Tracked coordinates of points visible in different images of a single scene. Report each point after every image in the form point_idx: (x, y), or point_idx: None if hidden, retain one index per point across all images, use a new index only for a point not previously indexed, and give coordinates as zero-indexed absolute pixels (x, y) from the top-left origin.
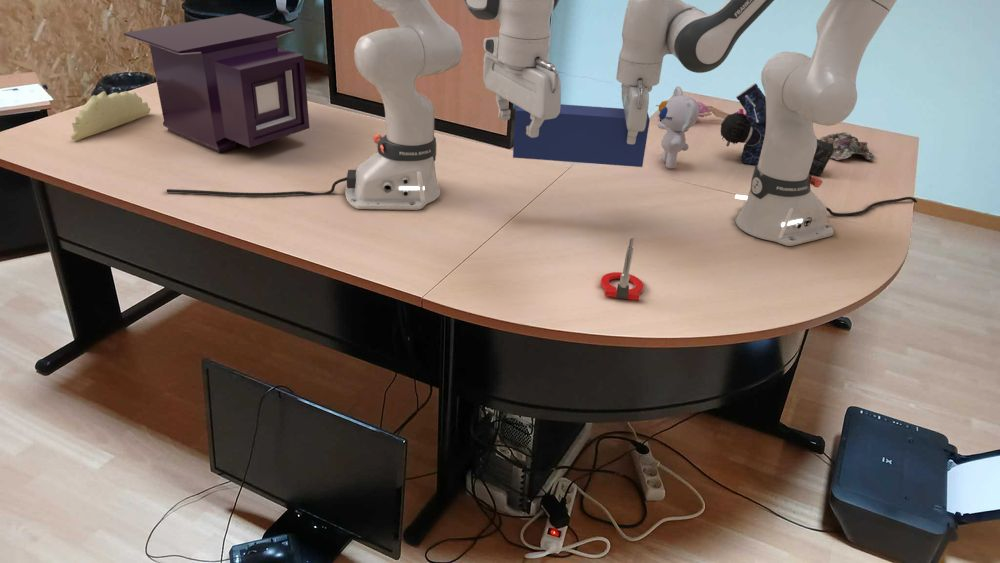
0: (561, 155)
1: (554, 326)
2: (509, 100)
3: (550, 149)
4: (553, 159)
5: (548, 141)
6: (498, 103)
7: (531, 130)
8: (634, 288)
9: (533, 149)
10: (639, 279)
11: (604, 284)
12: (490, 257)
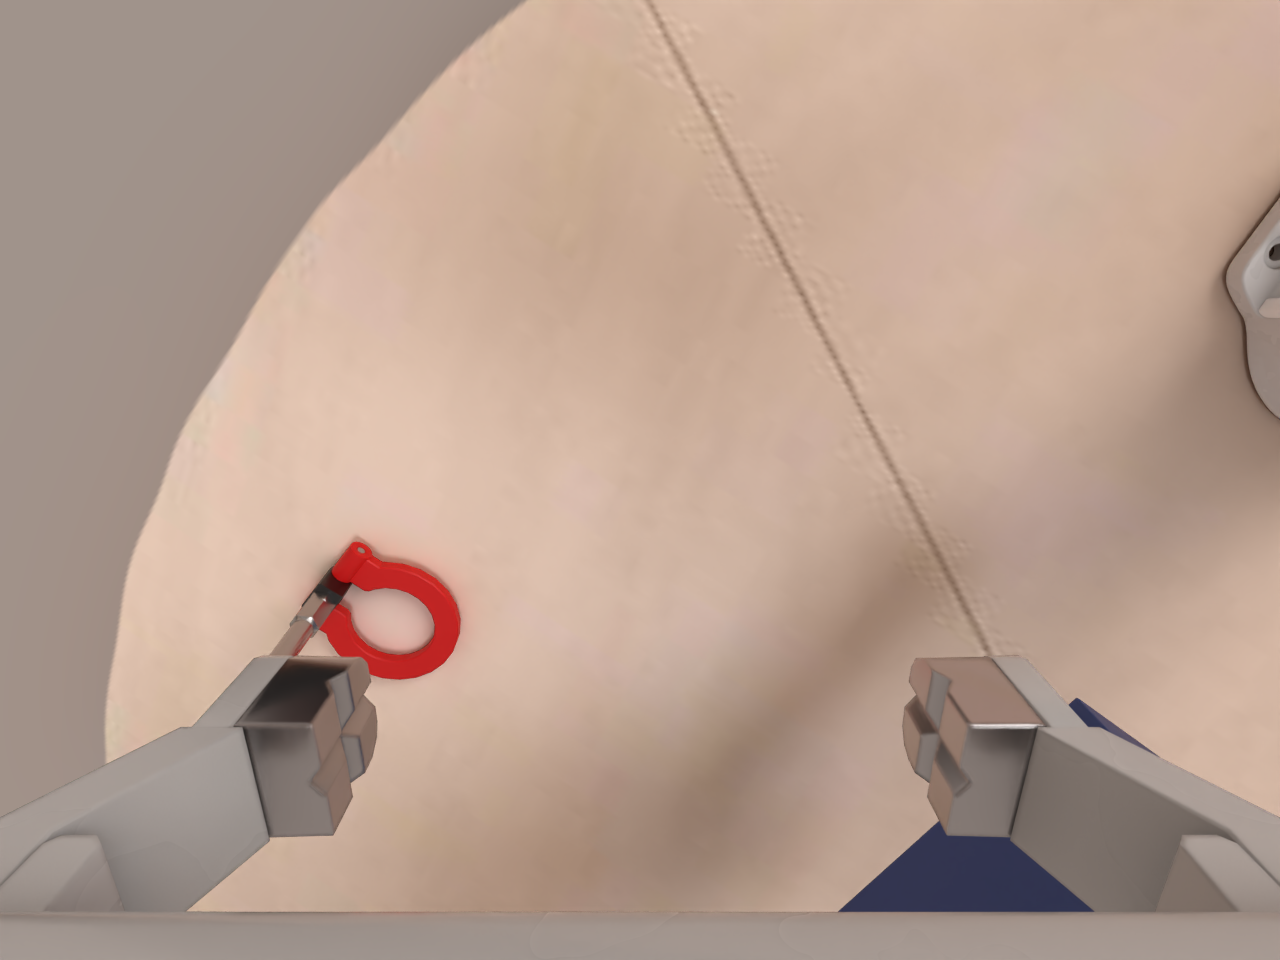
0: (909, 883)
1: (261, 300)
2: (733, 930)
3: (963, 871)
4: (926, 838)
5: (995, 903)
6: (1156, 788)
7: (208, 714)
8: (344, 634)
9: None
10: (391, 678)
11: (394, 571)
12: (743, 341)
